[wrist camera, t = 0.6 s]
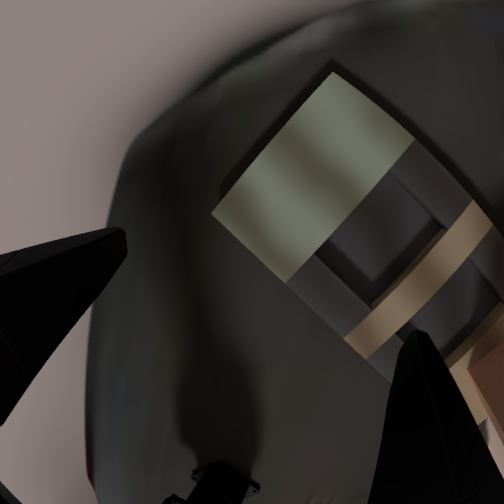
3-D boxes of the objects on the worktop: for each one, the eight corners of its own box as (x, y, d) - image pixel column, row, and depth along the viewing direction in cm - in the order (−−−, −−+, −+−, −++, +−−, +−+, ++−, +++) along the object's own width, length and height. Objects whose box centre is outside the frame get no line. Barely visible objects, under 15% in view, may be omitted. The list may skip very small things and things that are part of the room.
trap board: (450, 431, 22) (454, 443, 20) (221, 212, 25) (211, 213, 23) (552, 330, 18) (562, 337, 16) (334, 81, 21) (332, 71, 19)
